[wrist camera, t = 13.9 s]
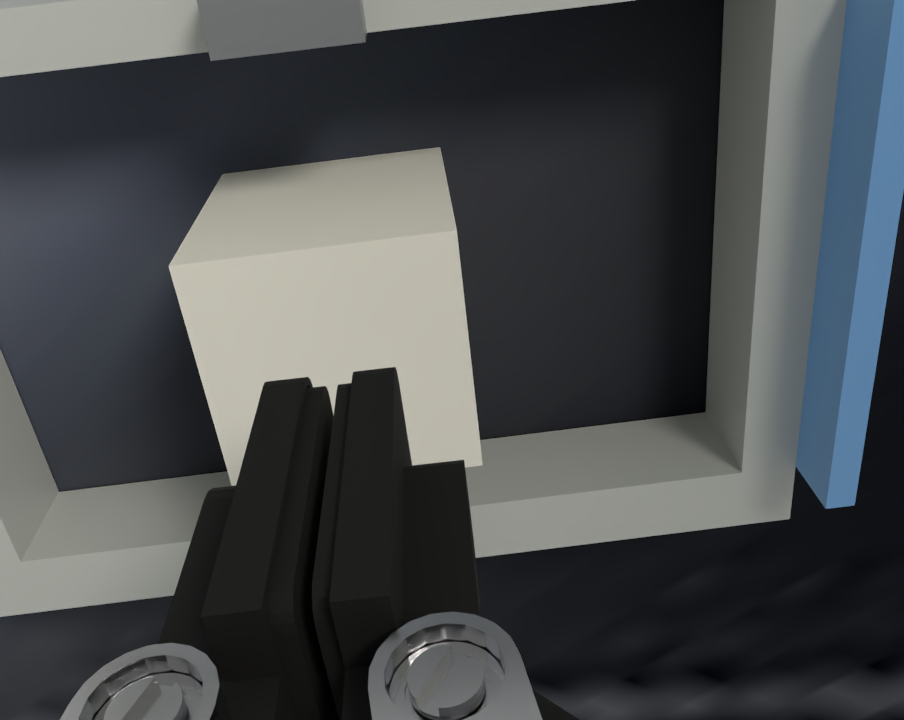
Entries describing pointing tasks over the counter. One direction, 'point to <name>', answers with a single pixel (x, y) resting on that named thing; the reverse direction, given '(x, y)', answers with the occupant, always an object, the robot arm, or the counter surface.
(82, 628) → the counter surface
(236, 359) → the cream matte cube
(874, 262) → the compartment tray
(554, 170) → the counter surface
